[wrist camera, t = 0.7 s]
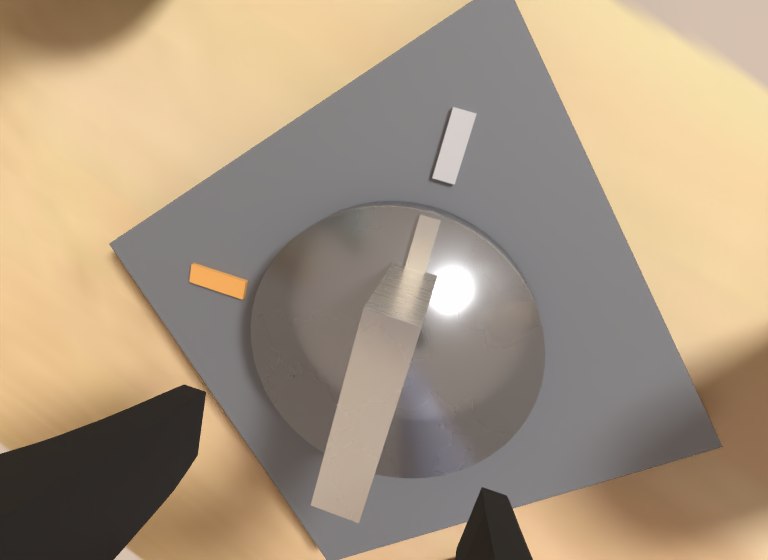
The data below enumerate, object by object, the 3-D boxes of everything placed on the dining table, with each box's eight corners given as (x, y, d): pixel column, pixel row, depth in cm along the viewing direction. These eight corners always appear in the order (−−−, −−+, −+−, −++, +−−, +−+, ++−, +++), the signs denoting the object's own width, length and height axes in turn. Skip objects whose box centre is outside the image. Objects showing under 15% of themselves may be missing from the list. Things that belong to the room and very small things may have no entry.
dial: (485, 493, 21) (484, 621, 15) (245, 408, 22) (168, 500, 16) (590, 253, 17) (637, 315, 11) (290, 163, 18) (208, 183, 13)
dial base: (705, 423, 20) (725, 450, 18) (337, 537, 25) (327, 566, 24) (503, -10, 16) (504, -23, 15) (133, 236, 22) (105, 245, 20)
